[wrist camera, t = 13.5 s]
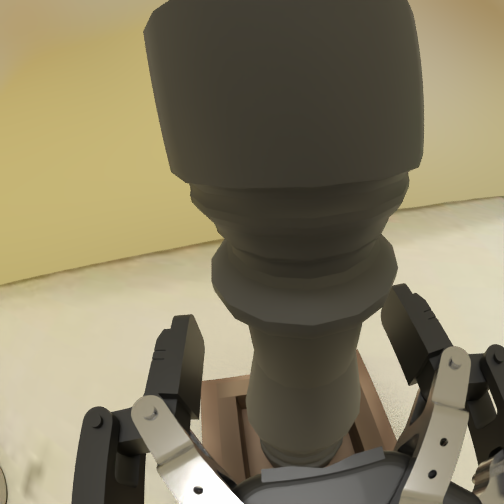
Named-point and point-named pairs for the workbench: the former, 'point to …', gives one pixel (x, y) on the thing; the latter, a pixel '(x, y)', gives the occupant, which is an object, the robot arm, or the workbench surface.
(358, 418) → the walnut socket base
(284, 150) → the candle holder
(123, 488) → the robot arm
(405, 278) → the workbench surface
